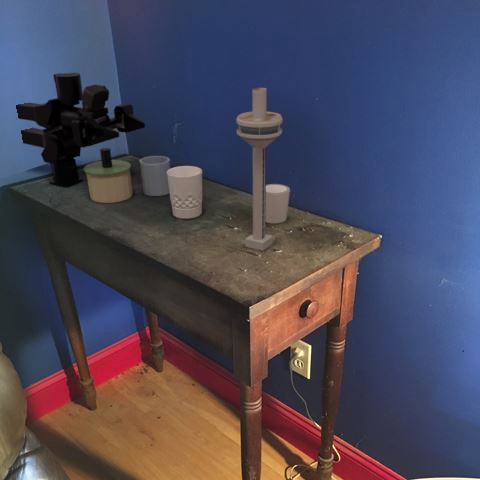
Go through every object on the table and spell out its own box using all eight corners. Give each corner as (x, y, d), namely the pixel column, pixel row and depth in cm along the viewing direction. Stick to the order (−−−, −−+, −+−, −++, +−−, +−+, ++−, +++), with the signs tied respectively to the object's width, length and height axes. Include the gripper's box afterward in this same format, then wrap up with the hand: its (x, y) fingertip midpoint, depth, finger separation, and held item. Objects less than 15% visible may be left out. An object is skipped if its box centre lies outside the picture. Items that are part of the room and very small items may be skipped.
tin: (91, 204, 136) (86, 176, 133) (90, 190, 145) (85, 164, 141) (134, 200, 138) (130, 172, 135) (130, 187, 147) (127, 160, 143)
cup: (137, 193, 143) (133, 161, 139) (155, 184, 148) (152, 154, 144) (160, 198, 140) (157, 166, 135) (177, 189, 145) (175, 158, 141)
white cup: (206, 207, 133) (204, 166, 128) (201, 220, 127) (199, 177, 121) (174, 207, 134) (170, 165, 129) (167, 219, 127) (163, 176, 122)
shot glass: (287, 225, 124) (288, 194, 120) (256, 223, 125) (256, 192, 121) (291, 213, 129) (292, 184, 126) (261, 212, 131) (261, 182, 127)
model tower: (266, 257, 110) (268, 95, 94) (231, 248, 114) (226, 90, 98) (286, 241, 116) (291, 87, 100) (251, 233, 120) (251, 83, 104)
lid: (84, 180, 133) (80, 157, 130) (84, 166, 142) (80, 145, 139) (133, 175, 135) (130, 153, 132) (129, 162, 144) (127, 141, 141)
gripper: (47, 92, 127) (99, 101, 120) (104, 78, 140) (154, 85, 133) (56, 142, 133) (106, 153, 126) (110, 124, 146) (157, 133, 140)
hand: (131, 129), depth 131 cm, fingers open, 9 cm apart
